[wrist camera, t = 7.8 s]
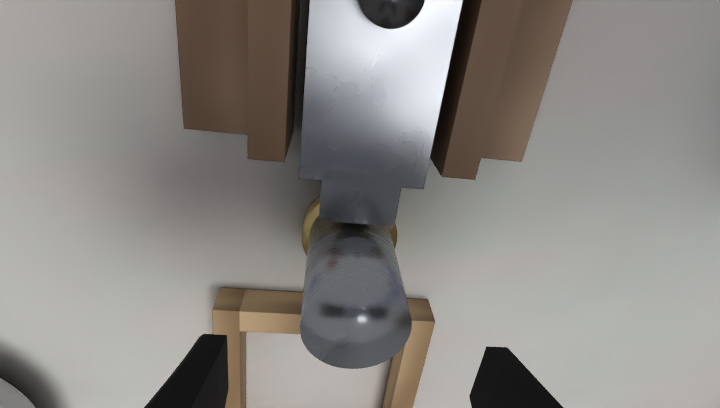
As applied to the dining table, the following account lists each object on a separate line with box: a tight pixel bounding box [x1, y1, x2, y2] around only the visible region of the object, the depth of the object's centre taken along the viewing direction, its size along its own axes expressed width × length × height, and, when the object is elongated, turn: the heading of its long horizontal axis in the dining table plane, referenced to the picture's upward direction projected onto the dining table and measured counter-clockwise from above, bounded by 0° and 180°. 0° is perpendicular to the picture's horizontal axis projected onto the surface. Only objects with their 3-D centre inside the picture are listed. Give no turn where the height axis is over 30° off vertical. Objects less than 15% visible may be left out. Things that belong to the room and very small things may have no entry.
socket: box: [175, 0, 573, 180], centre depth 14 cm, size 13×8×4 cm, turn 83°
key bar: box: [299, 0, 463, 226], centre depth 14 cm, size 4×10×4 cm, turn 173°
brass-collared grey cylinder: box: [300, 196, 412, 369], centre depth 16 cm, size 4×4×6 cm
